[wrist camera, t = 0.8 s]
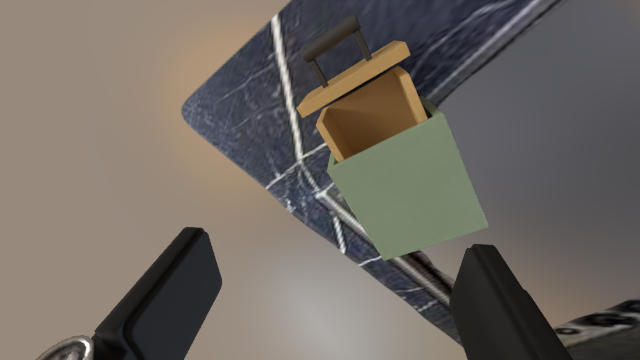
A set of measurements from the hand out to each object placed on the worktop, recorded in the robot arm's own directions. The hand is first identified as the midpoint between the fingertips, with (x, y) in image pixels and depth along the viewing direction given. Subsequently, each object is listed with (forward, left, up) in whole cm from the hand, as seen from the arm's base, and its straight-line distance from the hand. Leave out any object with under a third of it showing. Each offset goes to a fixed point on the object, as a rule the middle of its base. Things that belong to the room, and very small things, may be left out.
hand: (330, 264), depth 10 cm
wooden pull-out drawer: (+1, +2, -26) cm, 26 cm away
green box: (+11, +4, -27) cm, 29 cm away
